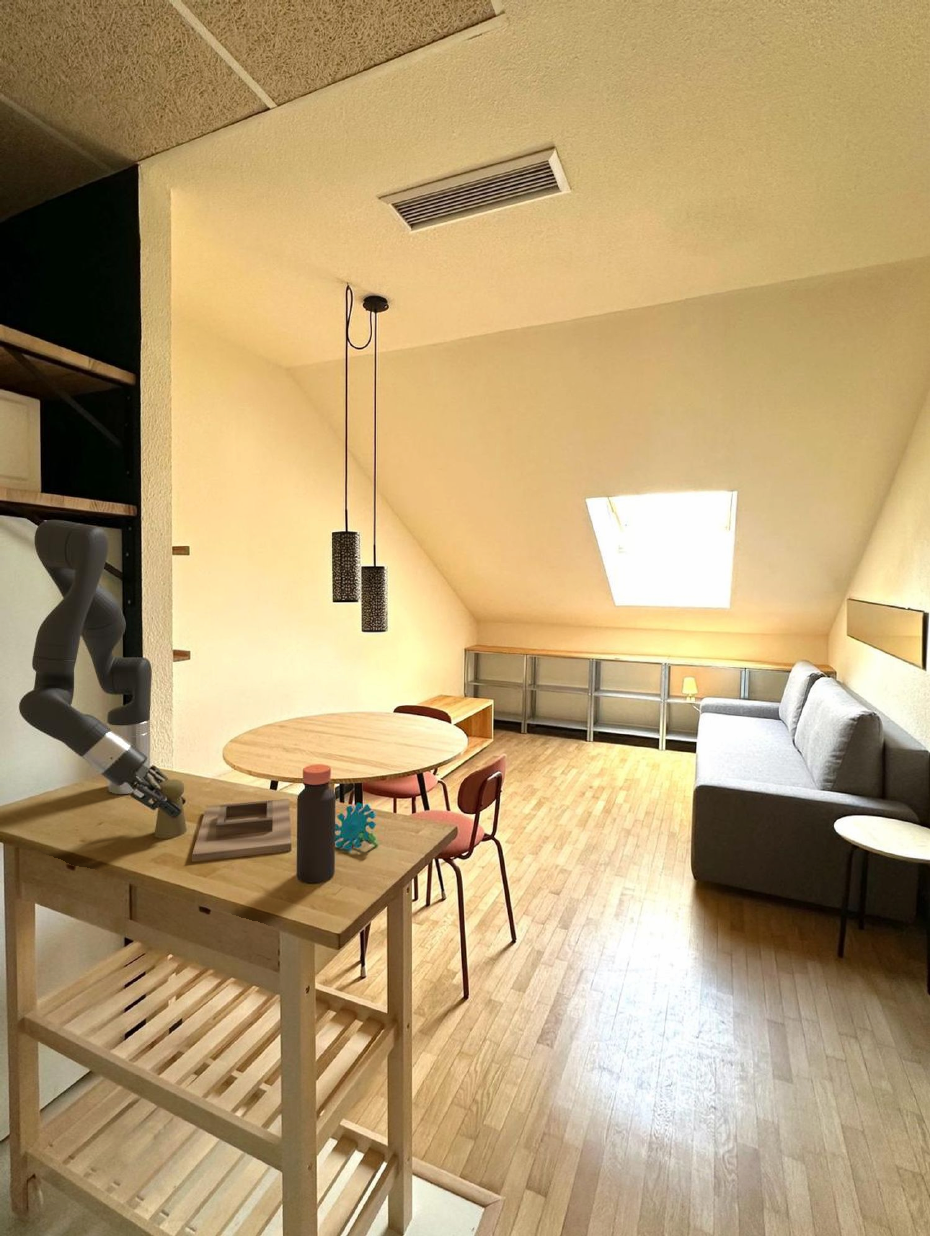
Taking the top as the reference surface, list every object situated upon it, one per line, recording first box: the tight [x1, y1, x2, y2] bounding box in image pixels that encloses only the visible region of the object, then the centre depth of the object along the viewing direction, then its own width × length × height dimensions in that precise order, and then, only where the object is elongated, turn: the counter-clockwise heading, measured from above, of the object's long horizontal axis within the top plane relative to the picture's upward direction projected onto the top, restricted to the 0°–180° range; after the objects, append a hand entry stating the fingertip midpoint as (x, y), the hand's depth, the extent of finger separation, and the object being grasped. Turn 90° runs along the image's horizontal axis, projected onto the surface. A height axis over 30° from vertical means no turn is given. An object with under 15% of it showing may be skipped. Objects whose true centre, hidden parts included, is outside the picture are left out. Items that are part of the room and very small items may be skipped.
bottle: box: [296, 763, 337, 885], centre depth 104 cm, size 7×7×20 cm
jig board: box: [191, 798, 292, 863], centre depth 122 cm, size 24×18×4 cm
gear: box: [335, 802, 379, 852], centre depth 118 cm, size 11×6×10 cm
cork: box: [154, 778, 187, 840], centre depth 120 cm, size 6×6×11 cm
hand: (180, 809), depth 121 cm, fingers closed on cork, 4 cm apart
